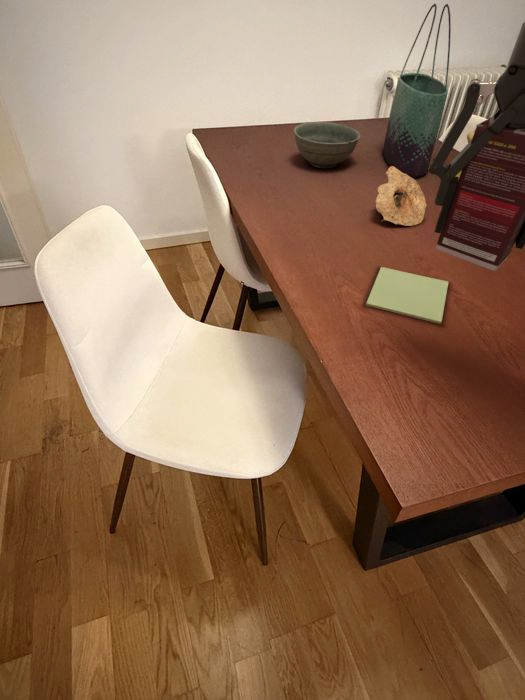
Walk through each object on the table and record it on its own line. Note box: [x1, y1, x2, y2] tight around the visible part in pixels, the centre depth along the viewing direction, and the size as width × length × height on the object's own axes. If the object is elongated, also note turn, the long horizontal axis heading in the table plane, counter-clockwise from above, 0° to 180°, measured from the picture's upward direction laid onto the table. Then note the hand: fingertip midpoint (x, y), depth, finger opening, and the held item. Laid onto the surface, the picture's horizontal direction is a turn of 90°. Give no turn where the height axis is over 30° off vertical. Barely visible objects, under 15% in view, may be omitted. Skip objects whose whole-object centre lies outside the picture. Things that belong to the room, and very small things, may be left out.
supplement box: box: [435, 117, 525, 272], centre depth 50 cm, size 9×5×16 cm, turn 47°
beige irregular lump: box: [374, 166, 428, 227], centre depth 105 cm, size 18×14×8 cm
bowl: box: [293, 121, 362, 169], centre depth 128 cm, size 21×21×10 cm
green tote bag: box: [382, 3, 452, 178], centre depth 119 cm, size 28×12×40 cm, turn 179°
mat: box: [365, 266, 449, 325], centre depth 80 cm, size 14×14×1 cm
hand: (477, 235), depth 53 cm, fingers closed on supplement box, 9 cm apart
